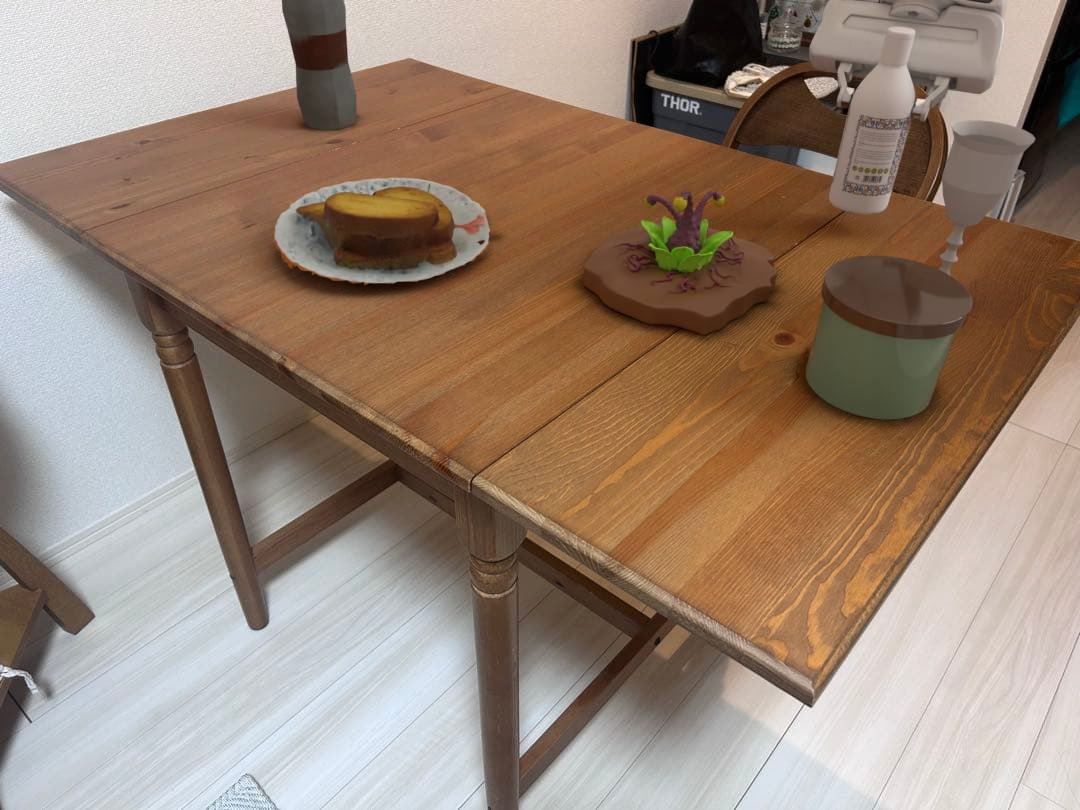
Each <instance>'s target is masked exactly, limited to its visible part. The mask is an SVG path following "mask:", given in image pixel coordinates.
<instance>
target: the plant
mask: <svg viewBox="0 0 1080 810" xmlns="http://www.w3.org/2000/svg"><path fill="white" fill-rule="evenodd" d="M711 198H712V203H713V205H714V206H715V207H718V208H721V207H722V206H723V205H725V200H726V199H725V196H724V195H722V193H721V192H720V191H714V190H710V191H707V192H706V194H704V195H703V197H701V199H700V201H699V202H698V204H697V205H696V207H695V210H694V204H695V203H694V201H693V199H694V196H693V195H692V193H691V191H690V190H683V191H682V192H680V193H679V194H677V196H675V198H674V199H673V201H672V202H671V201H669V199H666V198H664V197H662V196H658V195H655V194H648V195H647V196H646V197H645V198H644V200H643V201H644V206H645V207H646V208H647V209H653V208H654V207H655V206H656V205H657V202H658V203H660V204H661V205H662V206H664V207H665V208H666V209H667V211H668V212H670V215H671V216H672V217H673V219H674V221H673V220H672V219H671V218H669V217H667V216H662V219H661V221H656V222H653V221H649V220H644V219H641V222H636V223H635V225H634V226H633V227H632V228H630V229H626V230H624V231H623V230H622V231H619V232H614V233H611V234H609V235H608V236H606V238H605V239H604V241H602V243H601V244H600V245H599V246H598V247H597V248H596V249H595V250H594V251H593V252H592V253H591V254H590V255H589V257H588V259H587V260H586V262H585V264H584V266H583V275H582V276H583V279H582V284H583V286H584V287H585V288H587V289H588V290H589V291H591V292H592V293H594V294H595V295H596V296H597V297H599V298H600V300H601V302H602V303H603V304H604V305H606V306H607V307H609V308H610V309H612V310H614V311H616V312H618V313H620V314H623V315H626V316H628V317H631V318H632V319H636V320H638V321H640V322H642V323H645V324H648V325H667V326H668V325H669V326H674V327H679V328H682V329H685V330H688V331H691V332H693V333H696V334H697V333H698V334H700V335H702V336H706V335H708V334H711V333H713V332H717V331H719V330H721V329H722V328H723V327H725V325H727V324H728V323H729V322H731V321H733V320H735V319H738V318H740V317H742V316H743V315H744V314H746V313H747V312H748V311H749V310H750V308H752V306H755V305H757V304H759V303H760V304H761V303H766V302H769V300H770V296H771V292H773V291H774V289H775V286H776V281H777V277H778V270H777V269H776V268H775V267H774V263H775V256H774V255H773V254H772V253H771V252H770V251H769V250H767V249H766V248H765V247H764V246H762V245H760V244H757V243H755V242H751V241H749V240H747V239H743V238H739V237H737V236H734V231H729V230H723V231H721V230H718V229H714V228H711V227H710V228H709V222H708V219H702V217H703V213H704V210H705V207H706V204H707V202H708V201H709V199H711ZM682 211H683V214H681V213H680V212H682Z"/></svg>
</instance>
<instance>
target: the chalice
mask: <svg viewBox="0 0 1080 810" xmlns="http://www.w3.org/2000/svg"><path fill="white" fill-rule="evenodd" d="M951 130H952V135H953V141H952V144H951V147H950V150H949V154H948V157H947V160H946V162H945V166H944V168H943V172H942V175H941V182H942V183H941V185H942V187H941V188H942V197H943V203H944V208H945V213H946V218H947V220H949V221H950V222H951V223H953V230H952V232H951V234H950V235H949V236H948V237H947V238H946V239H945V241H946V250H945V251H944V252H943V253H941V254H939V258H940V260H941V261H940V267H939V268H938V269H939V270H941V271H943V272H945V273H947V274H949V275H950V276H952V275H951V273H950V271H951V268H952V266H953V264H954V263H955V262H958V261H959V258H958V256H957V251H958V249H959V248H960V246H962V245H963V244H964V241H963V236H964V235H963V234H964V231H965V229H967V227H972V226H975V225H977V224H978V223H980V222H981V221H982V220H983V219H984V218H985V217H986V216H987V215H988V214H989V213H991V211H992V210H993V209H995V208H996V206H997V205H998V204H999V203H1000V202H1001V201H1002V200H1003V198H1004V197H1005V195H1007V193H1009V191H1010V188H1011V186H1012V184H1013V181H1014V179H1015V176H1016V174H1017V170H1018V168H1019V165H1020V163H1021V160H1022V158H1023V155H1024V153H1025V151H1026V150H1027V149H1028V148H1029V147H1030V146H1031V145H1033V144H1034V143H1035V141H1036V137H1035V136H1034V134H1032V133H1030V132H1029V131H1027V130H1025V129H1023V128H1020V127H1019V126H1018V127H1017V126H1014V125H1010V124H1007V123H1002V122H998V121H997V122H996V121H989V120H980V119H979V120H978V119H977V120H975V119H972V120H971V119H968V120H960V121H957V122H954V123H953V124H952V126H951Z"/></svg>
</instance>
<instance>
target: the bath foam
mask: <svg viewBox="0 0 1080 810" xmlns="http://www.w3.org/2000/svg"><path fill="white" fill-rule="evenodd" d="M914 37H915V30H914V29H911V28H907V27H890V28H888V29H887V32H886V36H885V40H884V44H883V48H882V52H881V57H880V62H879V64H878V65H877V66H876V67H875V68H874V69H873V70H872V71H871V72H870V73H869V74H868V75H867V76H866V77H863V79H862V81H861V82H860V83H859V85H858V86H857V88H856V89H855V90H854V95H853V98H852V100H851V103H850V106H849V109H847V115H846V120H845V123H844V127H843V132H842V137H841V140H840V145H839V150H838V153H837V159H836V163H835V166H834V167H835V168H834V171H833V175H832V180H831V185H830V190H829V194H828V201H829V203H830V204H831V205H832V206H833V207H834V208H836V209H838V210H840V211H842V212H845V213H849V214H853V215H860V216H861V215H862V216H863V215H864V216H867V215H868V216H869V215H876V214H879V213H881V212H883V211H885V210H886V209H887V208H888V205H889V202H890V198H891V195H892V191H893V190H894V185H895V181H896V178H897V174H898V171H899V167H900V163H901V160H902V157H903V153H904V149H905V146H906V142H907V139H908V135H909V133H910V128H911V125H912V120H913V119H911V117H912V116H911V115H912V111H913V108H914V107H915V103H916V90H915V85H913V82H912V79H911V77H910V74H909V71H908V68H907V62H908V59H909V56H910V52H911V48H912V44H913V41H914Z"/></svg>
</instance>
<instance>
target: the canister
mask: <svg viewBox="0 0 1080 810" xmlns="http://www.w3.org/2000/svg"><path fill="white" fill-rule="evenodd" d="M939 269H940V268H936V267H934V266H931V265H929V264H925V263H923V262H919V261H915V260H912V259H908V258H903V257H897V256H889V255H859V256H852V257H847V258H844V259H841V260H839V261H837V262H835V263H833V264H832V265H830V266H829V267H828V268H827V270H826V271H825V273H824V278H823V281H822V284H821V289H820V290H821V292H820V293H821V297H822V304H821V307H820V308H821V309H820V311H819V315H818V320H817V323H816V328H815V330H814V331H815V332H814V336H813V339H812V343H811V346H810V351H809V354H808V359H807V361H806V366H805V371H804V372H805V374H804V375H805V379H806V382H807V384H808V385H809V387H810V388H811V390H812V391H813V393H815V394H816V395H817V396H818V397H819V398H821V399H822V400H823V401H825V402H826V403H828V404H830V405H831V406H833V407H835V408H837V409H839V410H841V411H844V412H846V413H849V414H852V415H855V416H858V417H863V418H867V419H874V420H884V421H885V420H886V421H887V420H890V421H891V420H901V419H907V418H910V417H913V416H916V415H918V414H920V413H921V412H923V411H925V409H926V408H927V407H928V406H929V405H930V403H931V401H932V399H933V395H934V393H935V391H936V388H937V385H938V383H939V381H940V377H941V375H942V372H943V369H944V367H945V364H946V361H947V359H948V357H949V354H950V351H951V349H952V346H953V343H954V341H955V338H956V336H957V333H958V332H959V331H960V330H961V329H963V328H964V327H965V325H966V323H967V322H968V319H969V316H970V314H971V311H972V309H973V305H974V304H973V303H974V301H973V297H972V294H971V292H970V291H969V290H968V288H966V286H965V285H964V284H963V283H962V282H960V281H959V280H958V279H956V278H955V277H954V276H952V275H951V274H950V273H949V274H950V275H951V276H950V275H949V274H947V273H945V272H943V271H941V270H939Z"/></svg>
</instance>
